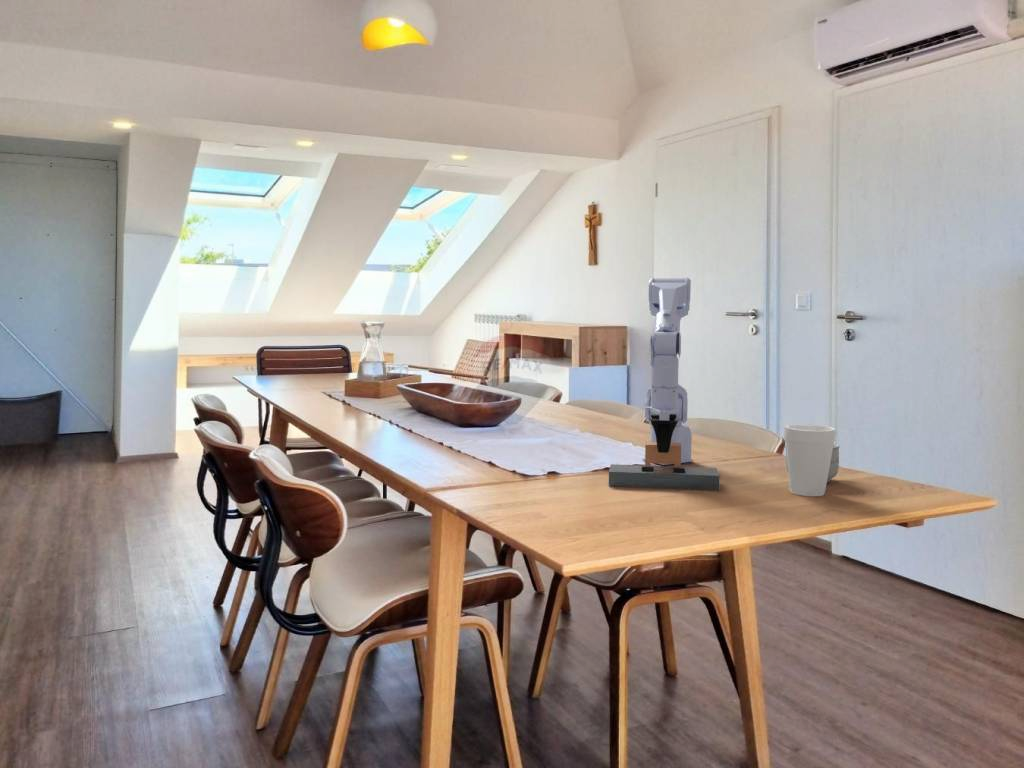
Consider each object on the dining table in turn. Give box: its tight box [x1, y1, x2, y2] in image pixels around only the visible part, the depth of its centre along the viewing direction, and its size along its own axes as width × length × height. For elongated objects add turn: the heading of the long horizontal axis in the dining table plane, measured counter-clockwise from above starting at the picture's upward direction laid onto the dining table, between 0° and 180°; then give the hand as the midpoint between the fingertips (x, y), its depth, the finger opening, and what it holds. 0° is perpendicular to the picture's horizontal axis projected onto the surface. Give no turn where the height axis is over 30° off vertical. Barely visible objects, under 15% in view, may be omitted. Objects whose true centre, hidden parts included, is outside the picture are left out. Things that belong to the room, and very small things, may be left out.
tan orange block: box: [644, 441, 682, 467], centre depth 178 cm, size 8×4×7 cm, turn 80°
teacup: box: [784, 443, 841, 483], centre depth 174 cm, size 14×11×8 cm
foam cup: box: [783, 423, 837, 497], centre depth 162 cm, size 10×9×13 cm
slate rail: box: [608, 463, 720, 492], centre depth 169 cm, size 22×8×3 cm, turn 80°
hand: (663, 449), depth 178 cm, fingers open, 7 cm apart
